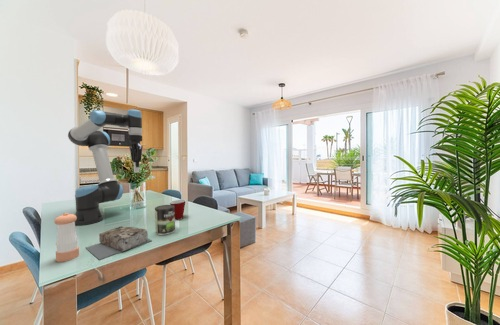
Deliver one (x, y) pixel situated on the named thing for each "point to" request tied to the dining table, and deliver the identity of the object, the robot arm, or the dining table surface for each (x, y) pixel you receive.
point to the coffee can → (165, 219)
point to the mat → (106, 250)
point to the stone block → (123, 237)
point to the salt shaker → (66, 238)
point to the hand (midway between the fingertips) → (136, 172)
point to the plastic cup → (178, 208)
